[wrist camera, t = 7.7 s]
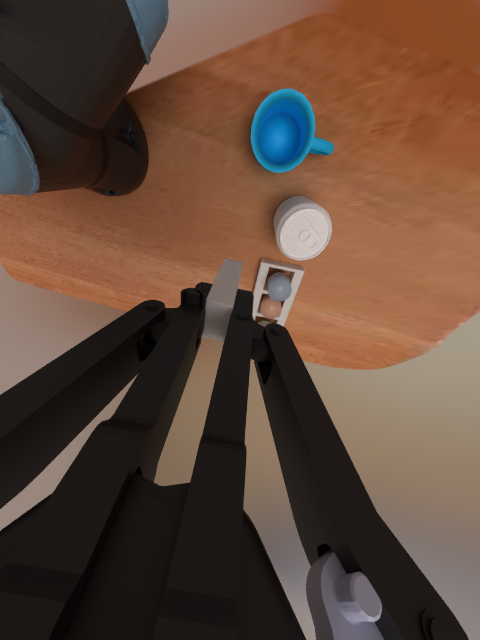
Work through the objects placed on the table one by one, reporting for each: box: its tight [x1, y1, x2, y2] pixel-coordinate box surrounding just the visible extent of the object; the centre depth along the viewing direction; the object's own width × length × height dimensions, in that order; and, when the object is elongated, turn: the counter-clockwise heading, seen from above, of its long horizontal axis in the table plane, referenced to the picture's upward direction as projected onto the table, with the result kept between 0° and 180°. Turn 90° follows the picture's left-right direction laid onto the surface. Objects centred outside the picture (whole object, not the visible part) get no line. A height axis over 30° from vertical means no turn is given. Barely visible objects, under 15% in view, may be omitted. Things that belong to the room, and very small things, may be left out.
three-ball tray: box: [252, 258, 304, 326], centre depth 50 cm, size 9×19×2 cm, turn 170°
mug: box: [251, 89, 334, 173], centre depth 31 cm, size 12×8×8 cm
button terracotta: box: [261, 294, 282, 319], centre depth 49 cm, size 5×5×4 cm
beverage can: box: [273, 196, 332, 260], centre depth 35 cm, size 8×8×12 cm
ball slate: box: [268, 272, 292, 301], centre depth 43 cm, size 5×5×4 cm
